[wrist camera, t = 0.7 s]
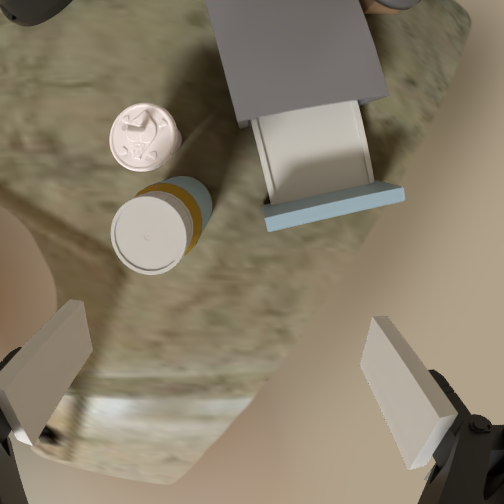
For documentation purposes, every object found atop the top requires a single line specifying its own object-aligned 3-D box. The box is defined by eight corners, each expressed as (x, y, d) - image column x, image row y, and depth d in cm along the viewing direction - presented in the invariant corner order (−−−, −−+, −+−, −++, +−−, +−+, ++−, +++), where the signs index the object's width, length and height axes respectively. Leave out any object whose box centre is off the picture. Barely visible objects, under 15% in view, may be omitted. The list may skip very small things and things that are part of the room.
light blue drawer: (226, 70, 33) (222, 51, 26) (345, 50, 32) (366, 31, 25) (264, 217, 38) (268, 232, 31) (378, 191, 37) (405, 200, 30)
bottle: (207, 170, 36) (182, 181, 22) (217, 228, 39) (201, 273, 24) (150, 181, 37) (96, 200, 22) (162, 237, 39) (118, 285, 24)
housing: (205, -1, 30) (196, -32, 22) (322, -19, 29) (336, -49, 21) (239, 128, 35) (237, 121, 27) (362, 105, 34) (389, 95, 27)
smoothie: (198, 117, 35) (170, 97, 21) (187, 171, 36) (155, 181, 23) (146, 111, 34) (95, 92, 21) (136, 163, 36) (82, 170, 23)
